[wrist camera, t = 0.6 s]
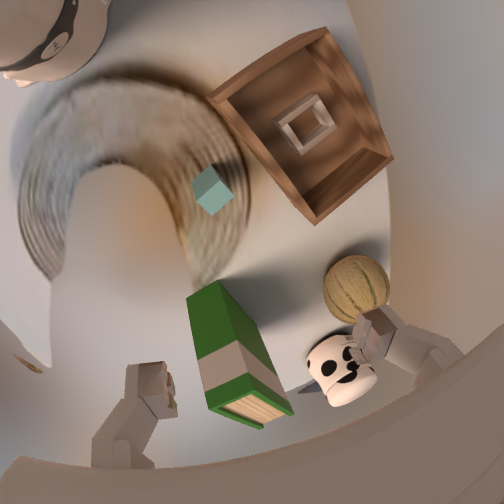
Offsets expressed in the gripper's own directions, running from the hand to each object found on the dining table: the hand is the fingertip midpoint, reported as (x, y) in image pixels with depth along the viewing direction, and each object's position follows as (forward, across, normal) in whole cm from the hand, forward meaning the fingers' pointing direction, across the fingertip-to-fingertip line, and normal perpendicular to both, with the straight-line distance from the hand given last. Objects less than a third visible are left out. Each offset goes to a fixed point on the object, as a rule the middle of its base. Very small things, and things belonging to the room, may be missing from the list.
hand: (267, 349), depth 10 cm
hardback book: (+38, -1, +30) cm, 49 cm away
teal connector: (+35, -1, +1) cm, 35 cm away
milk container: (+41, -30, +57) cm, 77 cm away
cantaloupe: (+38, -28, +26) cm, 54 cm away
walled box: (+34, -16, -7) cm, 39 cm away
